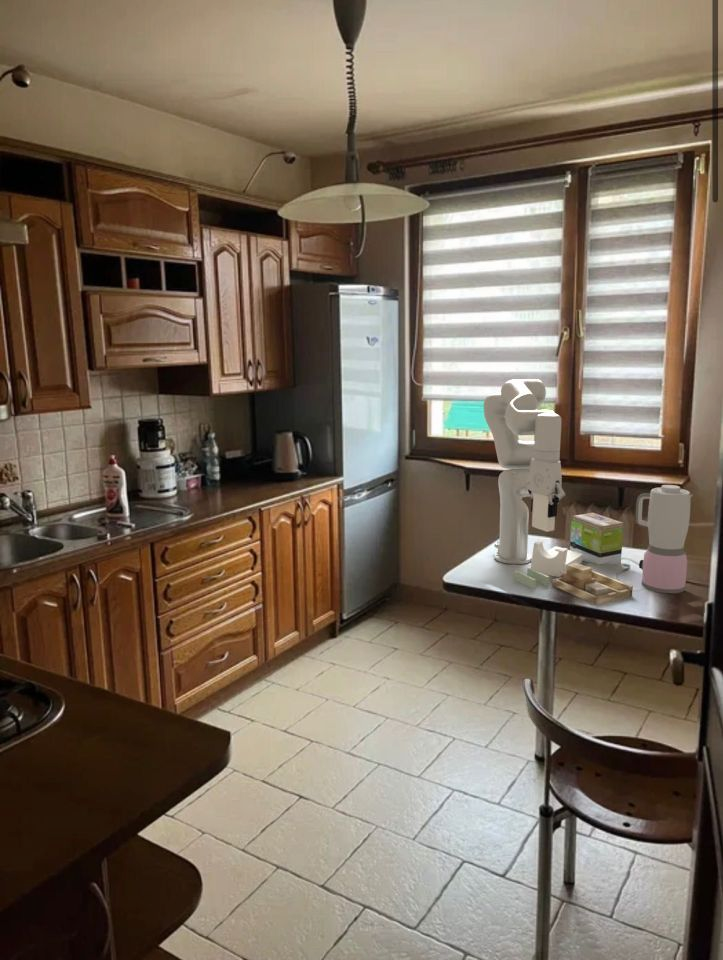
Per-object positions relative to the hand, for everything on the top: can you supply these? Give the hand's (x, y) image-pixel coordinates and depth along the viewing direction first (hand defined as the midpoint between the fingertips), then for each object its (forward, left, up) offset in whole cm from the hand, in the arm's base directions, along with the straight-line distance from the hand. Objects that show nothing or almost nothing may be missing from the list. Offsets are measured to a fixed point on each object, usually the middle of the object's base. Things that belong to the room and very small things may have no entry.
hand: (543, 513), depth 214 cm
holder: (-2, -2, -23) cm, 23 cm away
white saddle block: (-10, +15, -24) cm, 30 cm away
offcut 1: (+9, +6, -18) cm, 21 cm away
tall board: (0, 0, -5) cm, 5 cm away
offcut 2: (+9, +6, -22) cm, 25 cm away
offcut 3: (+17, +6, -22) cm, 29 cm away
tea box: (-12, +34, -24) cm, 43 cm away
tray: (+12, +9, -23) cm, 28 cm away
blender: (+18, +30, -23) cm, 42 cm away
